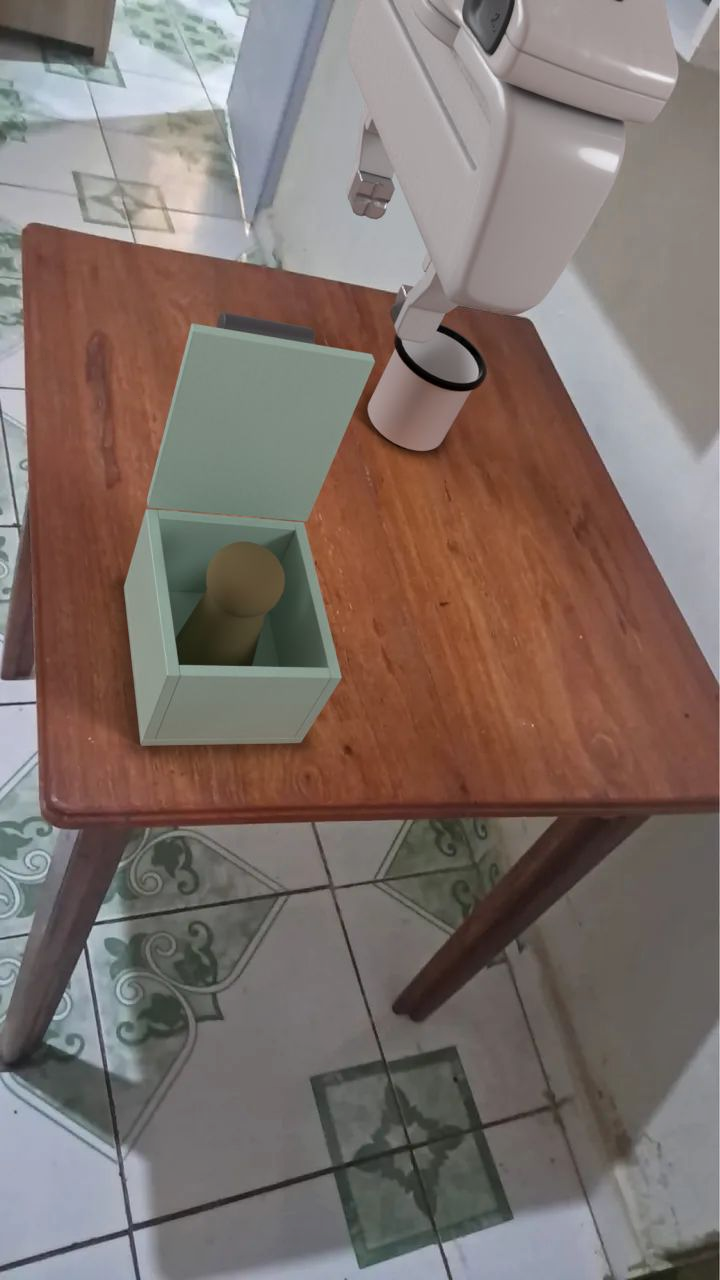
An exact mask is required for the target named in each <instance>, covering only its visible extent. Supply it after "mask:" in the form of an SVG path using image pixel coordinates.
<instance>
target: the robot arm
mask: <svg viewBox="0 0 720 1280" xmlns="http://www.w3.org/2000/svg"><path fill="white" fill-rule="evenodd" d="M351 23H352V24H351V26H350V32H349V38H348V47H347V61H348V64H349V66H350V68H351V71H352V74H353V76H354V78H355V81H356V83H357V86H358V88H359V90H360V92H361V95H362V97H363V100H364V102H365V103H364V107H363V110H362V112H361V115H360V120H359V129H358V135H357V146H356V153H355V161H354V162H355V164H354V168H353V170H352V173H351V176H350V178H349V182H348V183H347V186H346V189H345V195H346V197H347V200H348V202H349V204H350V207H351V209H352V212H353V214H355V215H356V216H359V217H364V216H365V217H366V218H368V219H372V220H378V219H379V220H380V218H383V216H385V214H386V212H387V208H388V204H389V203H390V202H391V200H392V198H393V194H394V193H395V190H396V188H395V186H394V183H393V180H392V179H393V178H394V177H393V176H394V174H395V176H396V179H397V181H398V184H399V186H400V188H401V191H402V193H403V195H404V198H405V200H406V203H407V205H408V208H409V210H410V212H411V215H412V218H413V220H414V222H415V224H416V227H417V229H418V231H419V233H420V236H421V239H422V241H423V243H424V247H425V249H426V251H427V252H426V255H424V256H425V257H424V258H423V261H422V264H421V268H422V271H423V273H424V275H423V276H422V277H421V278H420V279H419V280H418V281H417V283H416V284H415V285H413V286H412V285H408V284H404V283H403V284H401V285H400V288H399V290H398V292H397V294H396V296H395V300H394V301H395V302H394V303H393V304H392V305H391V307H390V309H389V314H390V318H391V322H392V324H393V327H394V330H395V334H396V333H397V336H398V337H399V338H400V339H402V340H407V341H413V342H418V343H425V342H427V341H430V340H431V339H432V338H433V336H434V334H435V332H436V330H437V328H438V327H439V325H440V324H442V321H443V319H444V317H445V315H446V314H449V313H450V312H451V311H453V310H454V309H456V308H458V307H459V306H462V307H465V308H466V307H467V308H470V309H475V310H479V311H484V312H489V313H494V314H499V315H506V316H517V315H520V314H523V313H525V312H527V311H529V310H532V309H533V308H535V307H537V306H538V305H540V304H541V302H542V301H544V299H545V298H546V297H547V296H548V295H549V293H550V292H551V290H552V289H553V288H554V286H555V284H556V283H557V282H558V280H559V279H560V277H561V276H562V274H563V272H564V271H565V269H567V266H568V265H569V263H570V261H571V260H572V258H573V256H574V254H575V253H576V252H577V250H578V248H579V247H580V245H581V244H582V242H583V240H584V238H585V237H586V235H587V233H588V232H589V230H590V228H591V227H592V225H593V223H594V221H595V219H596V218H597V215H598V214H599V212H600V210H601V209H602V207H603V205H604V203H605V202H606V199H607V198H608V196H609V194H610V192H611V190H612V188H613V187H614V184H615V182H616V179H617V177H618V174H619V171H620V169H621V166H622V163H623V158H624V155H625V150H626V141H627V140H626V136H627V133H626V126H625V122H626V123H630V124H634V125H638V126H643V127H645V126H648V125H651V124H652V122H654V121H655V120H656V118H657V117H659V115H660V113H661V112H662V110H663V108H665V106H666V104H667V102H668V101H669V99H670V97H671V95H672V94H673V92H674V89H675V87H676V85H677V81H678V79H679V61H678V56H677V51H676V48H675V43H674V39H673V35H672V29H671V26H670V21H669V15H668V10H667V4H666V0H360V1H359V3H358V6H357V8H356V11H355V14H354V17H353V20H352V22H351Z"/></svg>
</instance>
